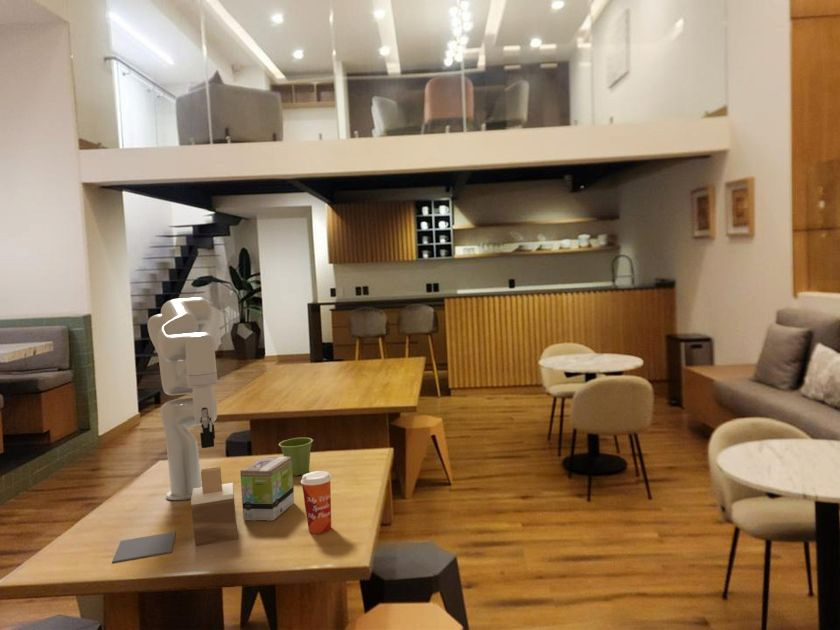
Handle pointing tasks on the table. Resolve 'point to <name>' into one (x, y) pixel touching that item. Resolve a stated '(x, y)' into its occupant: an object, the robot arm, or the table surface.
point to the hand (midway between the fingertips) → (208, 443)
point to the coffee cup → (317, 500)
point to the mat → (144, 547)
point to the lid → (211, 487)
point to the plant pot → (298, 454)
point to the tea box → (267, 488)
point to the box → (214, 521)
